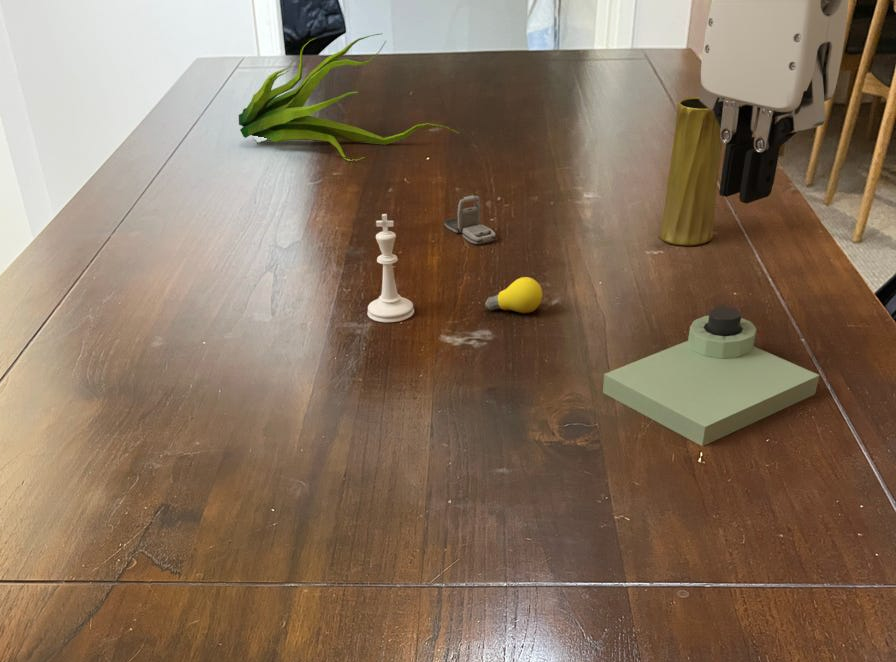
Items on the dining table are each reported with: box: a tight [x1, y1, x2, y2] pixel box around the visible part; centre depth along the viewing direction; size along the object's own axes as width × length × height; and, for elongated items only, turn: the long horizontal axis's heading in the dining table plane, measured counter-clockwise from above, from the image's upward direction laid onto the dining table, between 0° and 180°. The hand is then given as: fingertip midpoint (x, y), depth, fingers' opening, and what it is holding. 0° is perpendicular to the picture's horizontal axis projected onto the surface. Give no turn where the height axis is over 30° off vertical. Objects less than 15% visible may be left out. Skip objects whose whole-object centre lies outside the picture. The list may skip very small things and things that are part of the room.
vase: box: [658, 96, 724, 247], centre depth 113 cm, size 6×6×14 cm
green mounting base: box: [602, 315, 820, 447], centre depth 88 cm, size 15×12×4 cm
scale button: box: [707, 306, 743, 336], centre depth 91 cm, size 3×3×2 cm
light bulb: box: [484, 276, 543, 314], centre depth 104 cm, size 3×6×4 cm, turn 84°
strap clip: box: [443, 194, 497, 245], centre depth 120 cm, size 8×3×4 cm, turn 27°
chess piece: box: [366, 213, 415, 323], centre depth 102 cm, size 5×5×10 cm
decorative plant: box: [238, 33, 460, 162], centre depth 146 cm, size 18×30×15 cm, turn 49°
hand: (744, 194), depth 84 cm, fingers closed
